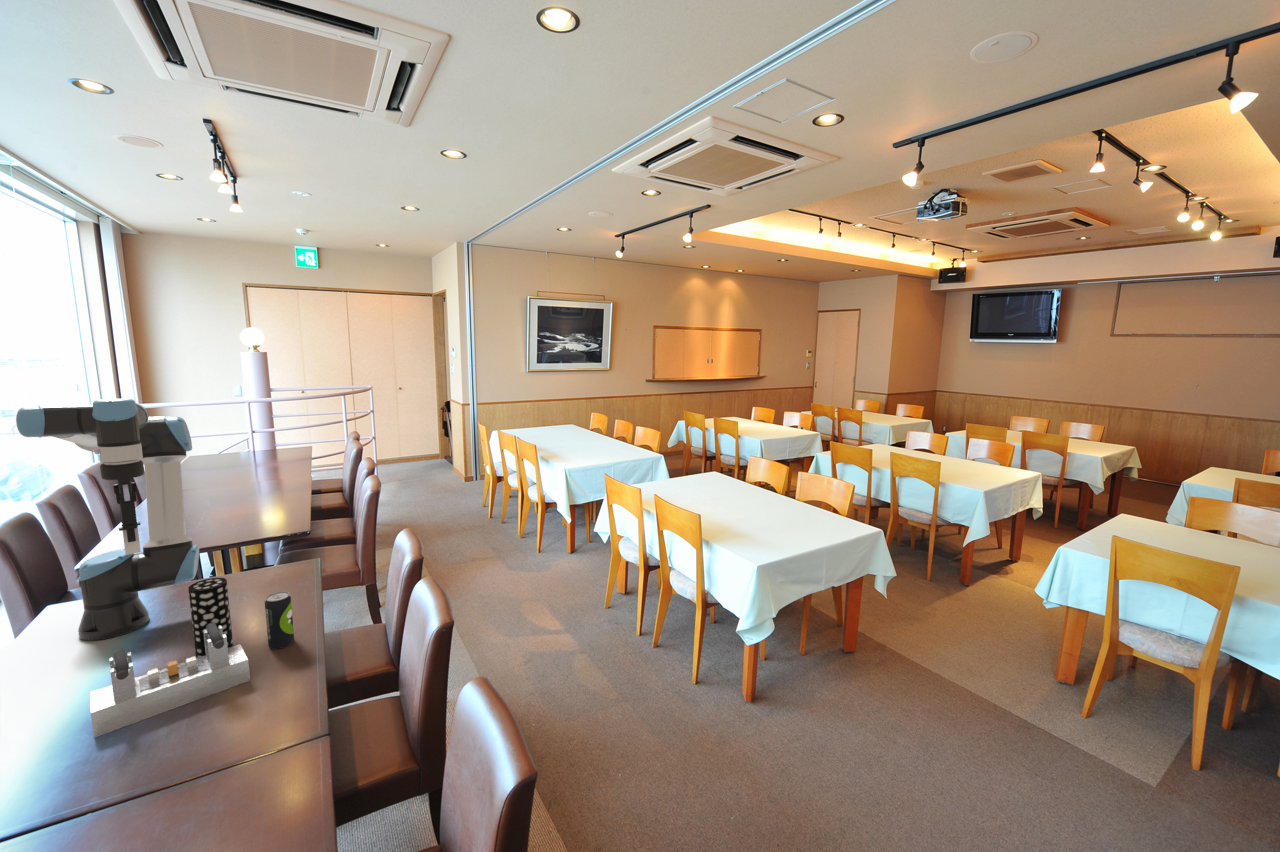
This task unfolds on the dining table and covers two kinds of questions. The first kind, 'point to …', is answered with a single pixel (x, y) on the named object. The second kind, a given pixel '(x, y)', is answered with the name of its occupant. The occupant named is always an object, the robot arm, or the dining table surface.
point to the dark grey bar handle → (121, 664)
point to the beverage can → (279, 620)
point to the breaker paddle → (172, 668)
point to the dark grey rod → (215, 635)
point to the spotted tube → (209, 610)
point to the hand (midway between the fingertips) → (133, 552)
